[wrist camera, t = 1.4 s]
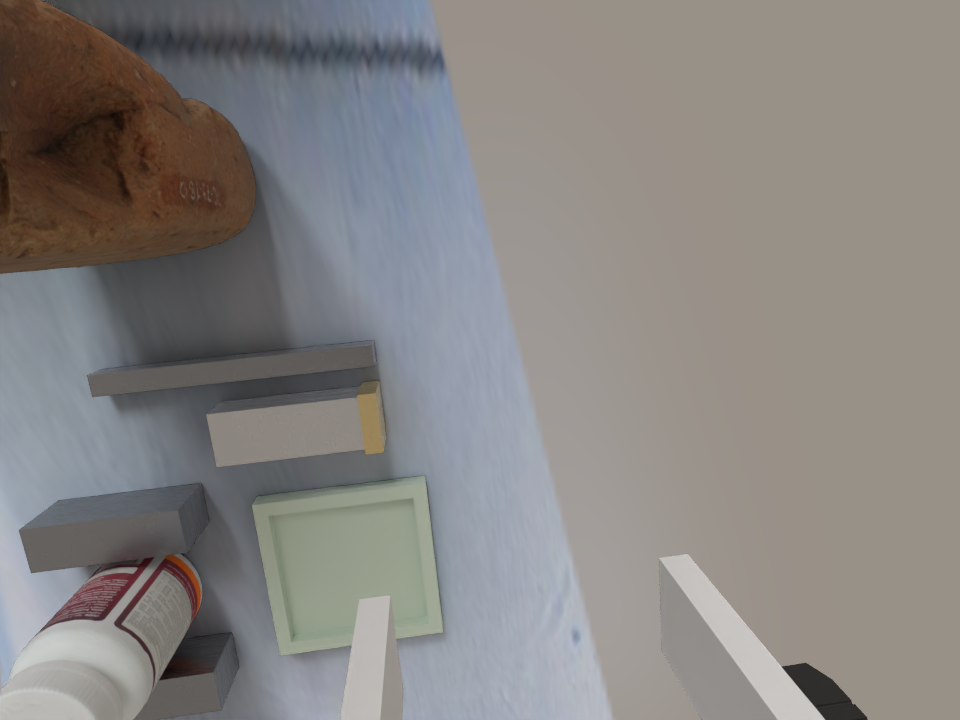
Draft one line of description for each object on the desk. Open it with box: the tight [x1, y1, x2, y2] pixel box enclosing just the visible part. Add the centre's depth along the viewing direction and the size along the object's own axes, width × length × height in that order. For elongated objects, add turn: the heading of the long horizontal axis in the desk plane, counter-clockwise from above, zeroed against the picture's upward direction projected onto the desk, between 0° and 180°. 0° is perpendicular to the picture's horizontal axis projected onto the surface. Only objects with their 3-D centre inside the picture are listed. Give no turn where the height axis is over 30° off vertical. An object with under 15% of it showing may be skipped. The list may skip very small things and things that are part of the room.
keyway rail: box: [87, 340, 377, 397], centre depth 33 cm, size 1×15×2 cm, turn 95°
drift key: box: [206, 381, 386, 467], centre depth 34 cm, size 3×9×3 cm, turn 95°
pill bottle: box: [0, 554, 202, 720], centre depth 31 cm, size 6×6×11 cm
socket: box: [19, 483, 239, 720], centre depth 34 cm, size 12×8×4 cm, turn 5°
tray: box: [252, 476, 443, 656], centre depth 36 cm, size 10×10×1 cm
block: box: [0, 0, 256, 274], centre depth 22 cm, size 11×8×20 cm
